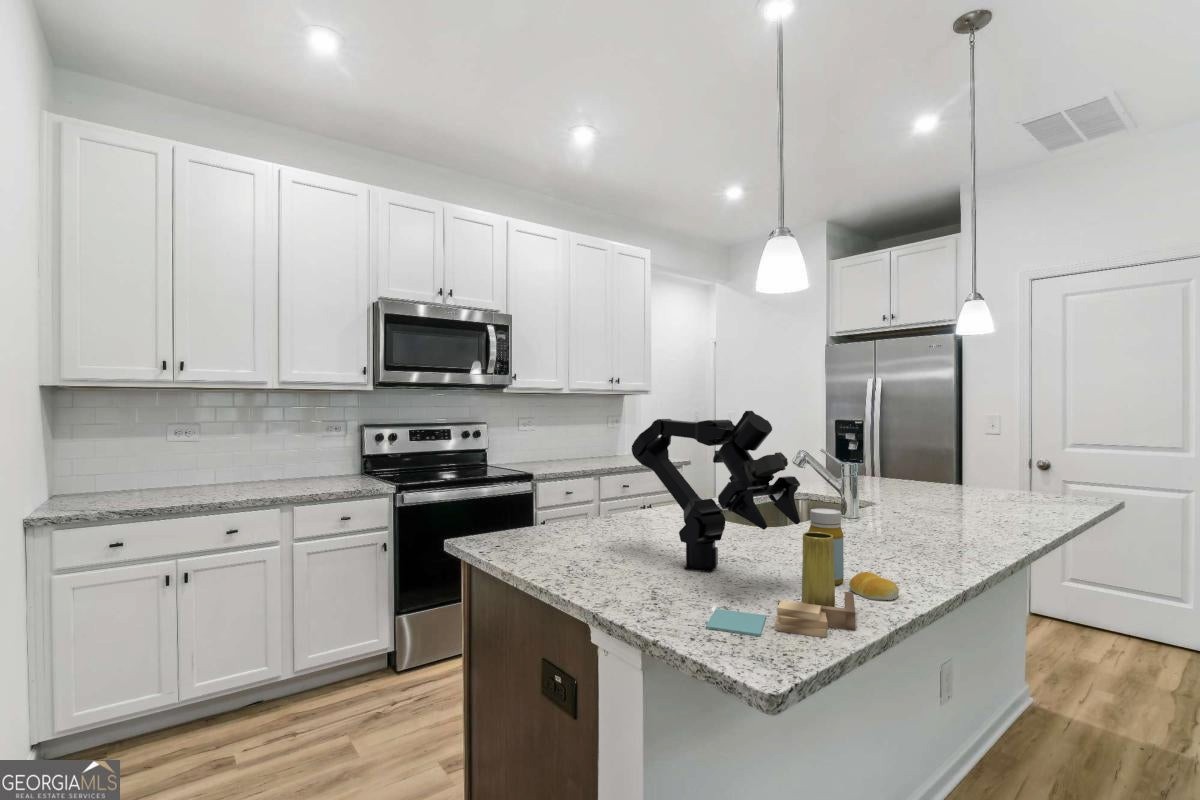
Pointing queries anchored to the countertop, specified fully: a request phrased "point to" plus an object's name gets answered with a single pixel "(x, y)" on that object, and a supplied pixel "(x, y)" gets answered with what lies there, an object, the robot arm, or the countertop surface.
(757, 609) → the countertop surface
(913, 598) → the countertop surface
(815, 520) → the bottle
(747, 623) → the mat
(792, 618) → the offcut rack
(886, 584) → the bread roll
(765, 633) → the countertop surface
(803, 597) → the vase
